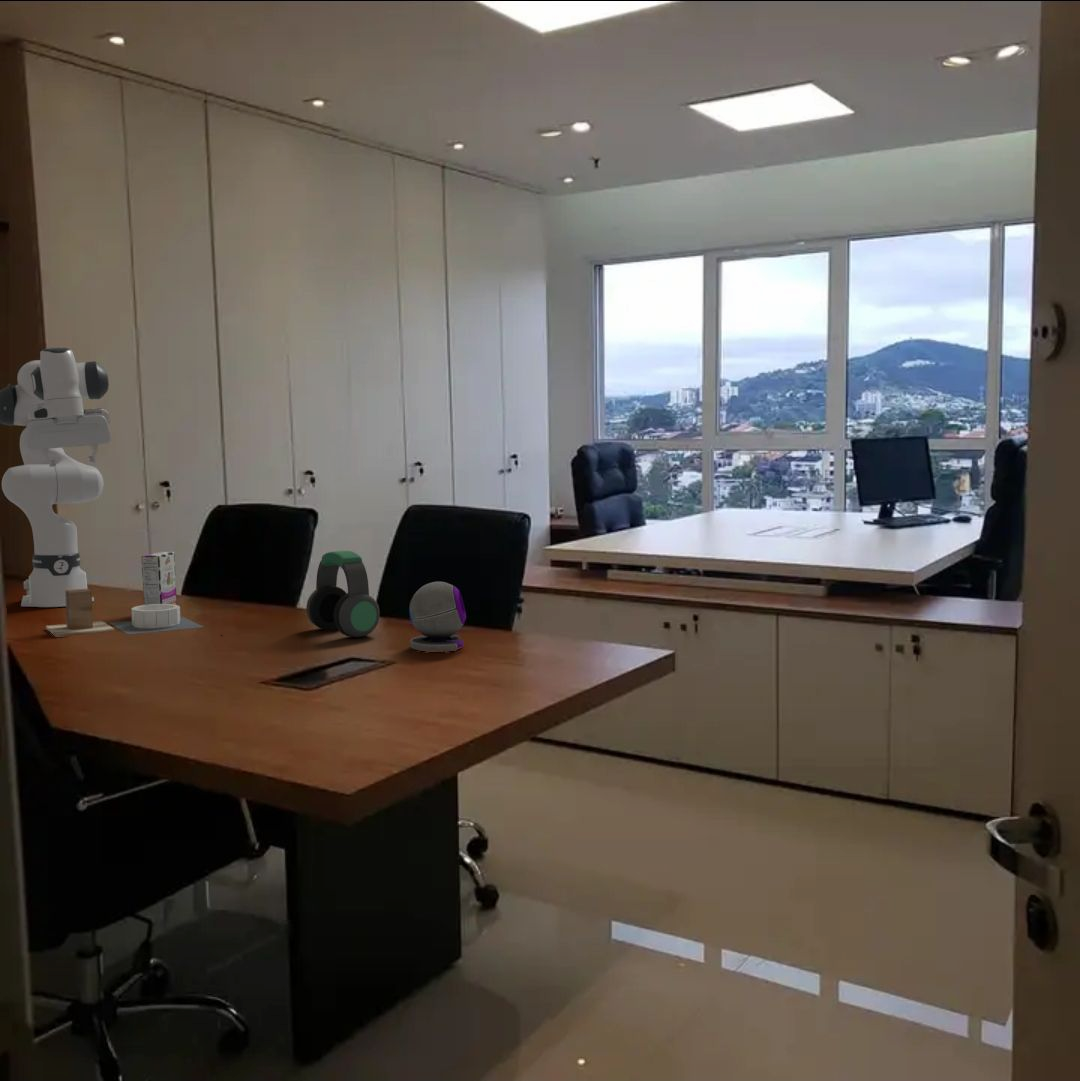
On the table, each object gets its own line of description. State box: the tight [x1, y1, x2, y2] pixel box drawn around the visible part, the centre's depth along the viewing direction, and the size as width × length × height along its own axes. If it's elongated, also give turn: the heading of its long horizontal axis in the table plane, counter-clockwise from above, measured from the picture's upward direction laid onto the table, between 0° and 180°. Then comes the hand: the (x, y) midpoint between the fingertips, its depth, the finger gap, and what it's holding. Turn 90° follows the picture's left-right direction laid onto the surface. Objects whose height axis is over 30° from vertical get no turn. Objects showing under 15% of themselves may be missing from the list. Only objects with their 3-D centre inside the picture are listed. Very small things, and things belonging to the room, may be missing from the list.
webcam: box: [408, 581, 467, 651], centre depth 242 cm, size 13×13×15 cm
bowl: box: [130, 604, 181, 629], centre depth 265 cm, size 11×11×4 cm
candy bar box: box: [141, 551, 178, 605], centre depth 279 cm, size 11×5×16 cm, turn 179°
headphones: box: [305, 550, 381, 638], centre depth 258 cm, size 19×11×20 cm, turn 42°
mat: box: [109, 616, 204, 635], centre depth 265 cm, size 18×18×1 cm
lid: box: [45, 588, 115, 638], centre depth 258 cm, size 13×13×10 cm
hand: (72, 464), depth 275 cm, fingers open, 8 cm apart
